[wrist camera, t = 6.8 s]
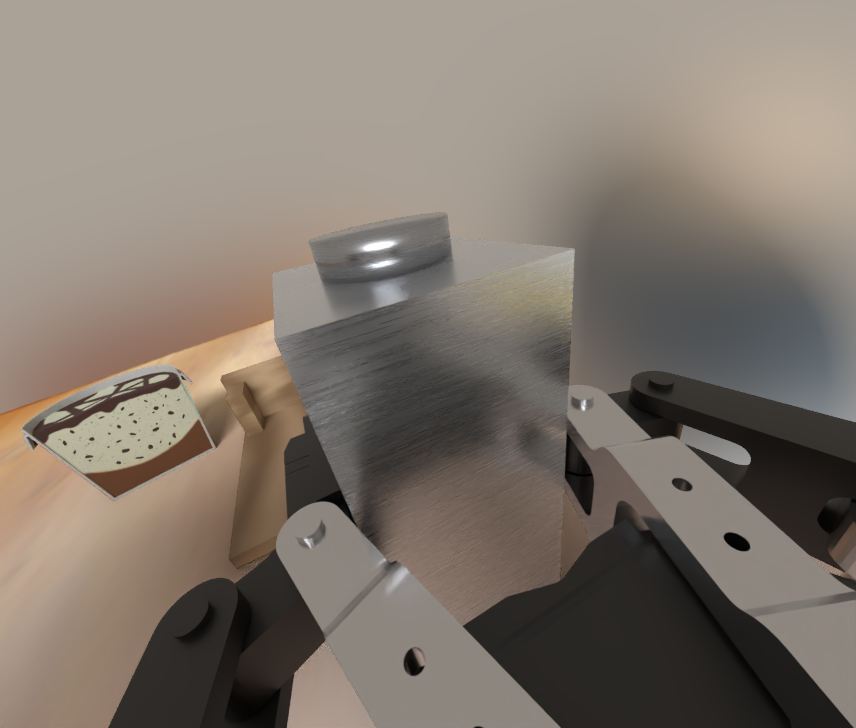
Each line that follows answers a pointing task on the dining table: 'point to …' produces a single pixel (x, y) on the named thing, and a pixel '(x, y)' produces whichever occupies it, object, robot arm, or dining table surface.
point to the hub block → (439, 397)
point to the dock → (262, 453)
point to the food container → (124, 429)
